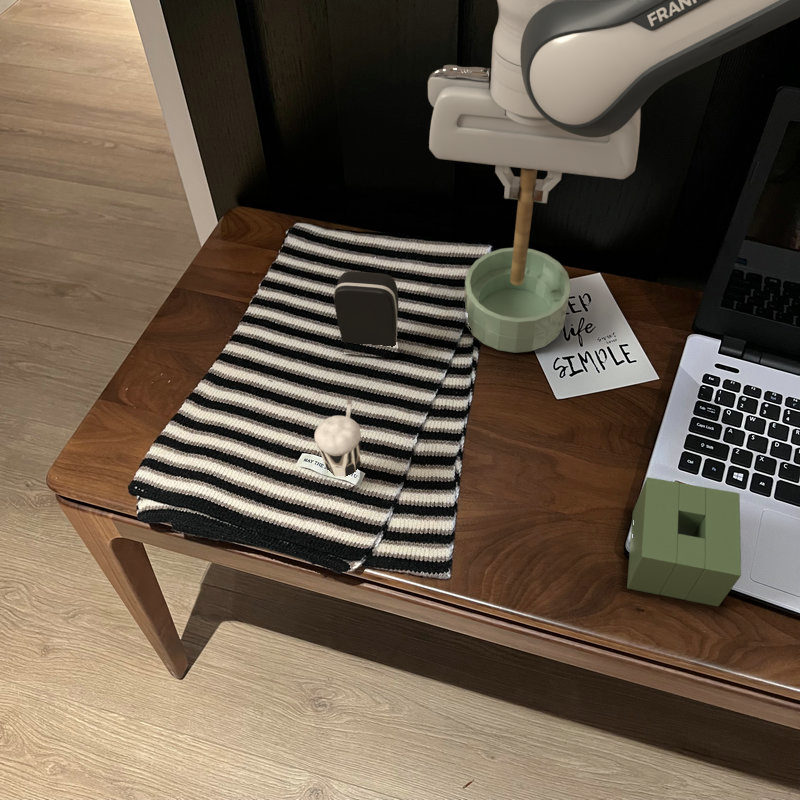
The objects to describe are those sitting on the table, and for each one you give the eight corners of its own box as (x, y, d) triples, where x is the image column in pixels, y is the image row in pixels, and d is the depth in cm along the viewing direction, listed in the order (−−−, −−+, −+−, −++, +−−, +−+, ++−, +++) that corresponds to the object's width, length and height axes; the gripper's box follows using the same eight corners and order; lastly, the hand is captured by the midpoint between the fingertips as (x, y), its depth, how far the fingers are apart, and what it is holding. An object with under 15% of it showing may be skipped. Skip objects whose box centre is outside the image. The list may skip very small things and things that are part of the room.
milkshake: (377, 461, 84) (370, 407, 76) (355, 501, 81) (345, 449, 73) (340, 448, 85) (329, 392, 78) (317, 486, 83) (303, 433, 75)
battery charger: (403, 337, 95) (399, 268, 86) (398, 361, 93) (393, 293, 83) (347, 332, 96) (337, 263, 87) (341, 356, 93) (330, 288, 84)
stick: (524, 277, 91) (538, 162, 78) (522, 286, 90) (536, 171, 77) (511, 275, 91) (522, 160, 79) (509, 284, 90) (520, 170, 78)
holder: (718, 528, 78) (739, 493, 72) (718, 606, 73) (741, 575, 67) (632, 512, 79) (646, 476, 74) (626, 588, 74) (641, 556, 69)
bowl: (569, 290, 98) (575, 254, 94) (557, 362, 91) (564, 328, 87) (474, 277, 100) (475, 241, 96) (455, 347, 93) (456, 313, 89)
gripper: (419, 82, 70) (422, 204, 81) (652, 104, 67) (622, 229, 78) (434, 45, 74) (435, 167, 85) (656, 64, 70) (626, 189, 81)
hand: (526, 197), depth 81 cm, fingers closed on stick, 1 cm apart
